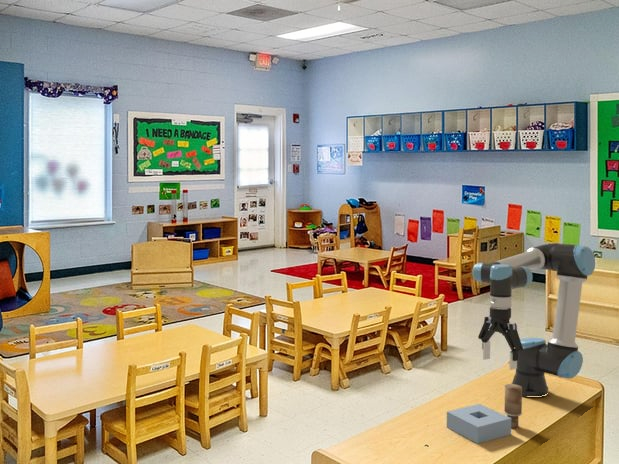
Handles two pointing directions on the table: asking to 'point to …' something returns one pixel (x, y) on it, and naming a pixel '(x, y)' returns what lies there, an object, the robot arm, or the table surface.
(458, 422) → the seat block
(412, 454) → the table surface
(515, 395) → the peg
